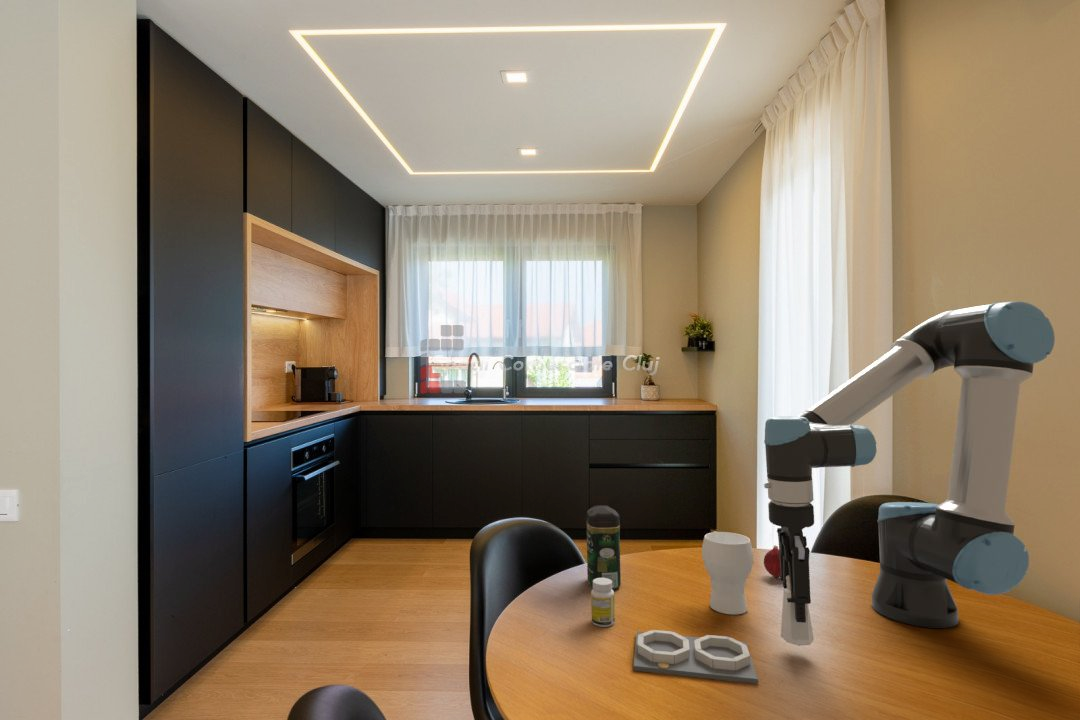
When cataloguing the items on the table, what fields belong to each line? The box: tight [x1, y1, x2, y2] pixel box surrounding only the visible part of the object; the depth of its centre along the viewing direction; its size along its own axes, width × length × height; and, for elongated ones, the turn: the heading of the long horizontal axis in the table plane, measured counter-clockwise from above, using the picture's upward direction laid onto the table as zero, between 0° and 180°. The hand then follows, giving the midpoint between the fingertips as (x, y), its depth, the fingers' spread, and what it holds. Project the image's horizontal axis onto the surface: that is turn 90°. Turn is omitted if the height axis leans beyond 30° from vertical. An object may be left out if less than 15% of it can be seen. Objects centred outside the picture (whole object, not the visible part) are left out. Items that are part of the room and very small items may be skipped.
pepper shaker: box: [780, 575, 815, 646], centre depth 98 cm, size 5×5×11 cm
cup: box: [701, 531, 754, 615], centre depth 118 cm, size 11×11×15 cm
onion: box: [763, 544, 781, 579], centre depth 135 cm, size 6×6×8 cm
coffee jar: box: [586, 505, 622, 591], centre depth 132 cm, size 10×8×19 cm
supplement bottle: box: [590, 578, 616, 628], centre depth 111 cm, size 5×5×8 cm
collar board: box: [633, 629, 759, 685], centre depth 96 cm, size 20×13×2 cm, turn 78°
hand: (796, 632), depth 97 cm, fingers closed on pepper shaker, 4 cm apart
